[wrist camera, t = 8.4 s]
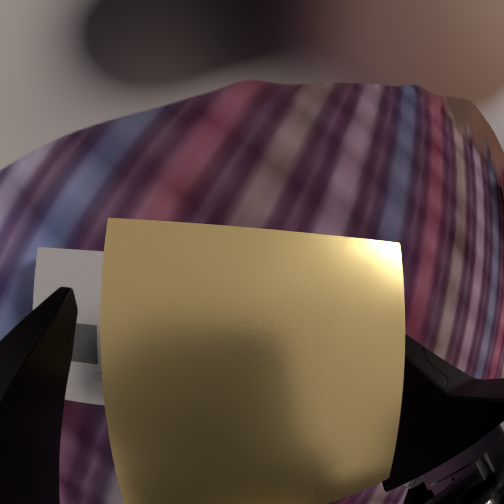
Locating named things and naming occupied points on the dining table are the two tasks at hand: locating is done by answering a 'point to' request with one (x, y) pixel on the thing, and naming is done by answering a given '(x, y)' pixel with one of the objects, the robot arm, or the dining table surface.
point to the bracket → (88, 319)
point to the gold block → (249, 362)
